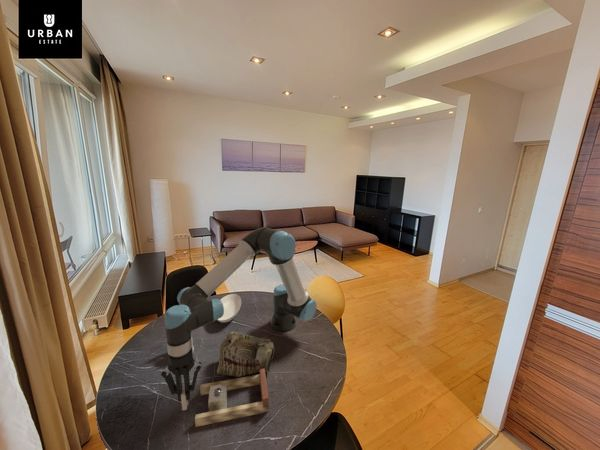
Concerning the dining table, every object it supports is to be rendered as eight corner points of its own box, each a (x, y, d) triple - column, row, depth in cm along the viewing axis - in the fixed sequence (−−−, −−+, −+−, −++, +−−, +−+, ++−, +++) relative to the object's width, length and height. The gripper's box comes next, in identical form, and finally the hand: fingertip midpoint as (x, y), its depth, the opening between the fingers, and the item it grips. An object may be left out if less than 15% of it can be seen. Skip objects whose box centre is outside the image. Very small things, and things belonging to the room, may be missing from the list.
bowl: (236, 330, 136) (235, 320, 134) (208, 330, 135) (207, 320, 133) (244, 302, 165) (244, 293, 164) (222, 302, 164) (221, 294, 163)
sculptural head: (278, 326, 119) (227, 319, 119) (273, 349, 98) (211, 340, 98) (272, 362, 119) (222, 354, 119) (267, 392, 98) (205, 383, 98)
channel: (264, 380, 103) (264, 368, 102) (268, 411, 90) (268, 397, 88) (201, 392, 97) (200, 379, 96) (195, 427, 84) (194, 412, 82)
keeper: (227, 395, 96) (226, 381, 95) (226, 411, 89) (225, 397, 88) (211, 398, 95) (210, 384, 93) (208, 415, 88) (208, 400, 87)
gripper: (202, 340, 89) (205, 394, 94) (162, 345, 86) (168, 401, 91) (198, 354, 82) (202, 412, 87) (155, 361, 79) (162, 420, 84)
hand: (185, 406), depth 89 cm, fingers closed
